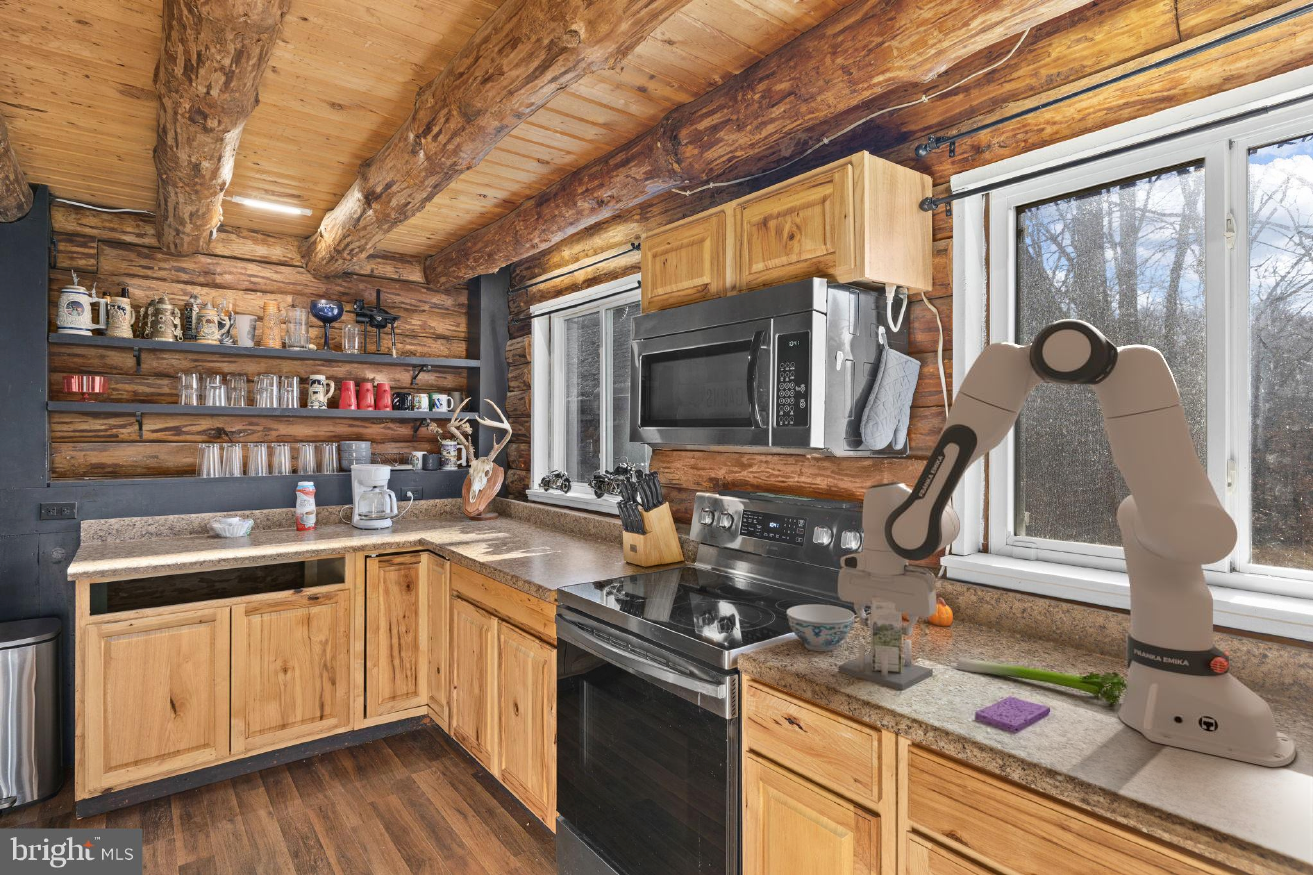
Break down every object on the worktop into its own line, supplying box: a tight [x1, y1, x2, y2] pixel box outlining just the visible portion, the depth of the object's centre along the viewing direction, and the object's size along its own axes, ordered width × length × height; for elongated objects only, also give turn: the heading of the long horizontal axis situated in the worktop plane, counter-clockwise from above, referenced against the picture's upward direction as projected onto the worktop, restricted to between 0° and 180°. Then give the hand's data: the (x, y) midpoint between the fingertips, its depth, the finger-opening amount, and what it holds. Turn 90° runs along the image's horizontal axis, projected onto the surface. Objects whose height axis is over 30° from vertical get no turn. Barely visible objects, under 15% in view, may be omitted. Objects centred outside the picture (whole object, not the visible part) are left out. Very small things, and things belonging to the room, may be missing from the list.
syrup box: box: [870, 596, 903, 673], centre depth 141 cm, size 6×6×14 cm
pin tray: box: [837, 639, 934, 691], centre depth 141 cm, size 14×12×6 cm
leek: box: [956, 657, 1127, 707], centre depth 134 cm, size 6×7×30 cm
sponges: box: [974, 695, 1051, 734], centre depth 120 cm, size 7×13×2 cm, turn 128°
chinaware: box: [786, 604, 855, 652], centre depth 159 cm, size 15×15×8 cm
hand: (885, 630), depth 141 cm, fingers open, 8 cm apart
